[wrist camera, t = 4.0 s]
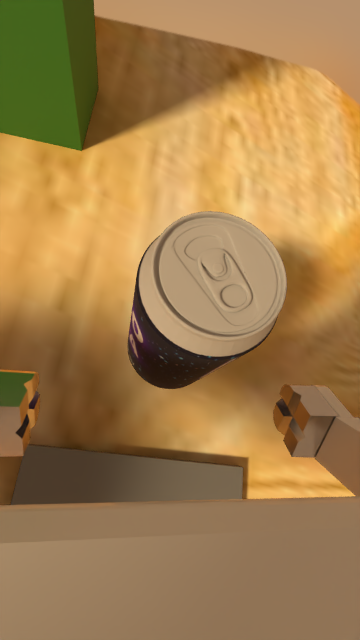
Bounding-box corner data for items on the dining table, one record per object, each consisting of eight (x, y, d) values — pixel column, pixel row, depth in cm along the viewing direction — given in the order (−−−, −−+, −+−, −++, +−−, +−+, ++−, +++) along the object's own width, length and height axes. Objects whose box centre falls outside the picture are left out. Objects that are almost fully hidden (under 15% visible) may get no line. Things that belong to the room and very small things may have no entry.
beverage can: (185, 299, 23) (247, 185, 12) (221, 368, 22) (327, 311, 11) (113, 329, 22) (110, 228, 11) (149, 405, 21) (188, 382, 9)
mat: (227, 716, 16) (233, 730, 16) (-41, 721, 15) (-49, 736, 14) (238, 465, 20) (243, 467, 20) (29, 444, 19) (25, 445, 18)
